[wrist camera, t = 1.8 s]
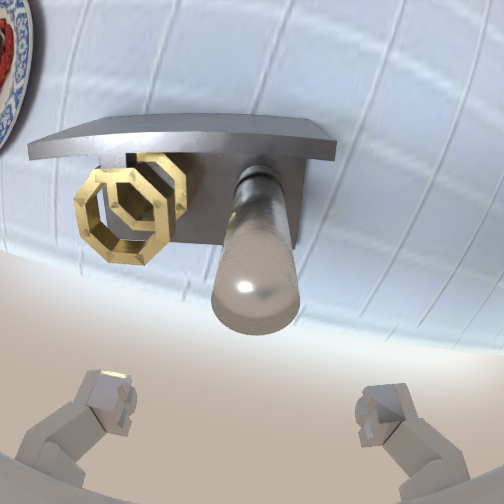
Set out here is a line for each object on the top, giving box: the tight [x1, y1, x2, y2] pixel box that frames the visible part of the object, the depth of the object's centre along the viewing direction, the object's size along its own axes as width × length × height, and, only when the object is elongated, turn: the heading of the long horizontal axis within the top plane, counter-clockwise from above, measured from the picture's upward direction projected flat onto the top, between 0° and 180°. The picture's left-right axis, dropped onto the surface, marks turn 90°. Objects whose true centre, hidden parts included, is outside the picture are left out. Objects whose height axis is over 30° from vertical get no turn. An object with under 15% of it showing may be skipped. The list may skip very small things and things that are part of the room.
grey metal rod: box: [211, 165, 300, 335], centre depth 21 cm, size 4×4×17 cm
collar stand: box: [27, 113, 337, 266], centre depth 25 cm, size 20×13×12 cm, turn 87°
